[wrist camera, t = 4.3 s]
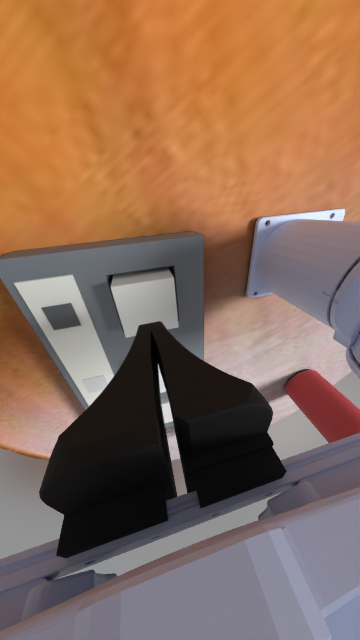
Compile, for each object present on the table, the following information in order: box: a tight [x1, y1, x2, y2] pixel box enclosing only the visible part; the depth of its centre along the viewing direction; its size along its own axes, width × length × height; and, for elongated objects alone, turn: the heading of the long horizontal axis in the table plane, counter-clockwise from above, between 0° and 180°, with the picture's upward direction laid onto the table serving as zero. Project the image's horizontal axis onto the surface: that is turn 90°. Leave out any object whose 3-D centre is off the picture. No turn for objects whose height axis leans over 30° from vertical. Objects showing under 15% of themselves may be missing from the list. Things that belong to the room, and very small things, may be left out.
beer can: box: [285, 370, 360, 443], centre depth 29 cm, size 7×7×12 cm
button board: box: [0, 231, 204, 429], centre depth 20 cm, size 14×25×3 cm, turn 4°
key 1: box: [111, 267, 179, 338], centre depth 15 cm, size 4×4×3 cm
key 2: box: [161, 397, 173, 423], centre depth 24 cm, size 4×4×3 cm
